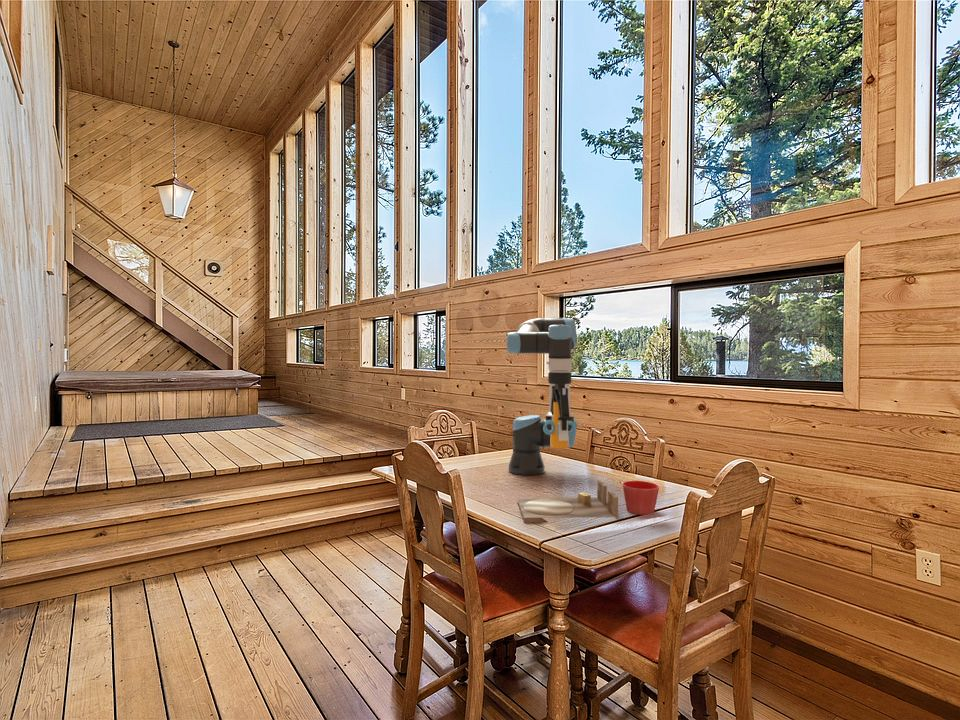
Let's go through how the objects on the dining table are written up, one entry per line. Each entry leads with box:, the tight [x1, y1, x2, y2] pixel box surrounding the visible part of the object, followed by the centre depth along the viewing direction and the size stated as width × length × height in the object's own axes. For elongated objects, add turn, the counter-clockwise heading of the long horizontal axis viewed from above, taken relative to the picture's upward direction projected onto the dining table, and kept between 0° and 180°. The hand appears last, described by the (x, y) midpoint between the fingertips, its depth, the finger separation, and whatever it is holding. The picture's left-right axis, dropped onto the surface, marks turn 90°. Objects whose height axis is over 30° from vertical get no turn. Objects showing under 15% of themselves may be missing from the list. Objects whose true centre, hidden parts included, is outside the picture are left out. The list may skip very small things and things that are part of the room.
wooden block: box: [577, 491, 592, 505], centre depth 174 cm, size 4×2×3 cm, turn 22°
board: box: [516, 479, 620, 524], centre depth 170 cm, size 20×29×8 cm
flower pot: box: [622, 480, 660, 519], centre depth 167 cm, size 11×11×10 cm
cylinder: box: [543, 402, 576, 450], centre depth 175 cm, size 12×10×15 cm
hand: (559, 437), depth 175 cm, fingers closed on cylinder, 12 cm apart
